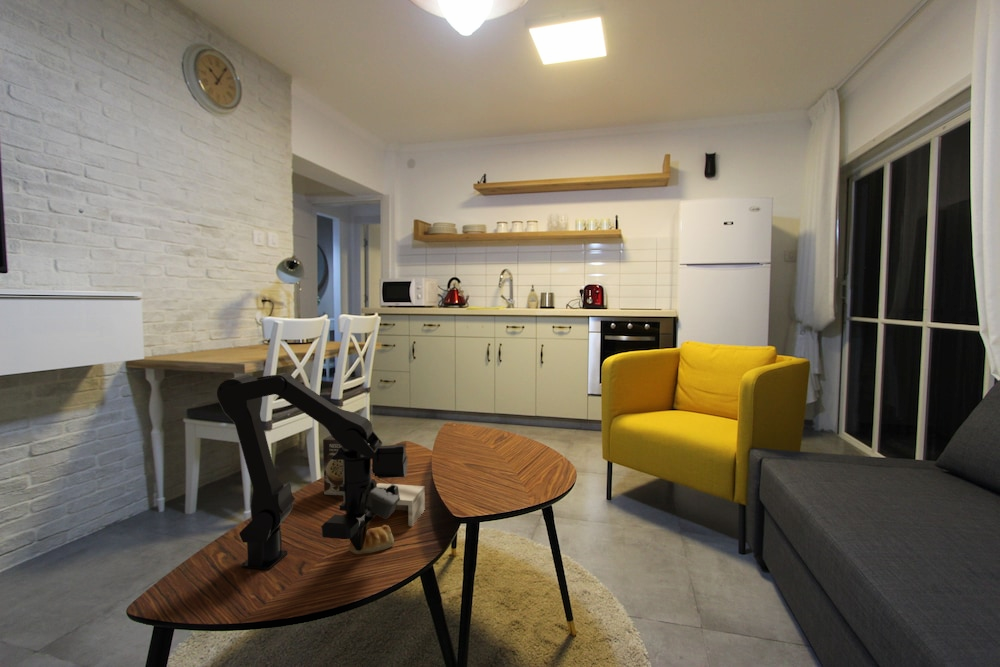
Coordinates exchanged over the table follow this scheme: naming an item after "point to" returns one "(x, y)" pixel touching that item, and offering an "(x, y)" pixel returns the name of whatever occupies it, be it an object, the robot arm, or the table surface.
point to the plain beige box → (410, 500)
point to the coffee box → (332, 467)
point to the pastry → (375, 540)
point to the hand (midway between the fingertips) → (359, 549)
